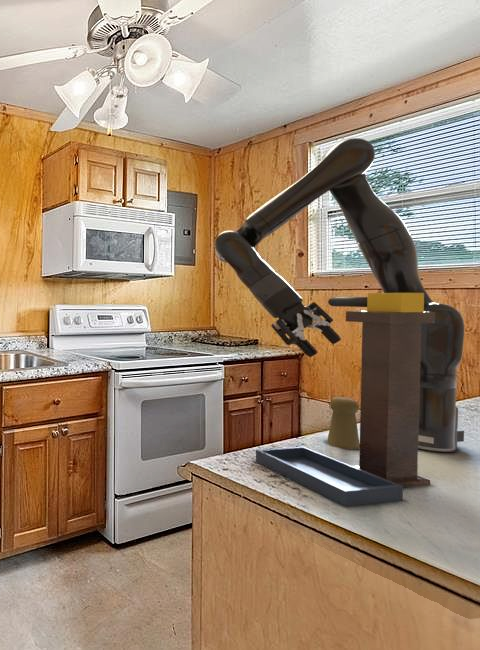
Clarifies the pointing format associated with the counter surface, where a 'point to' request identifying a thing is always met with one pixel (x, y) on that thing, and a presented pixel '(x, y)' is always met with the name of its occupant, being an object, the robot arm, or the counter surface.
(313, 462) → the tray
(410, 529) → the counter surface
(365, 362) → the wooden pedestal stand
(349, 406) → the cork
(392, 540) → the counter surface
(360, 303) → the sponge brush
